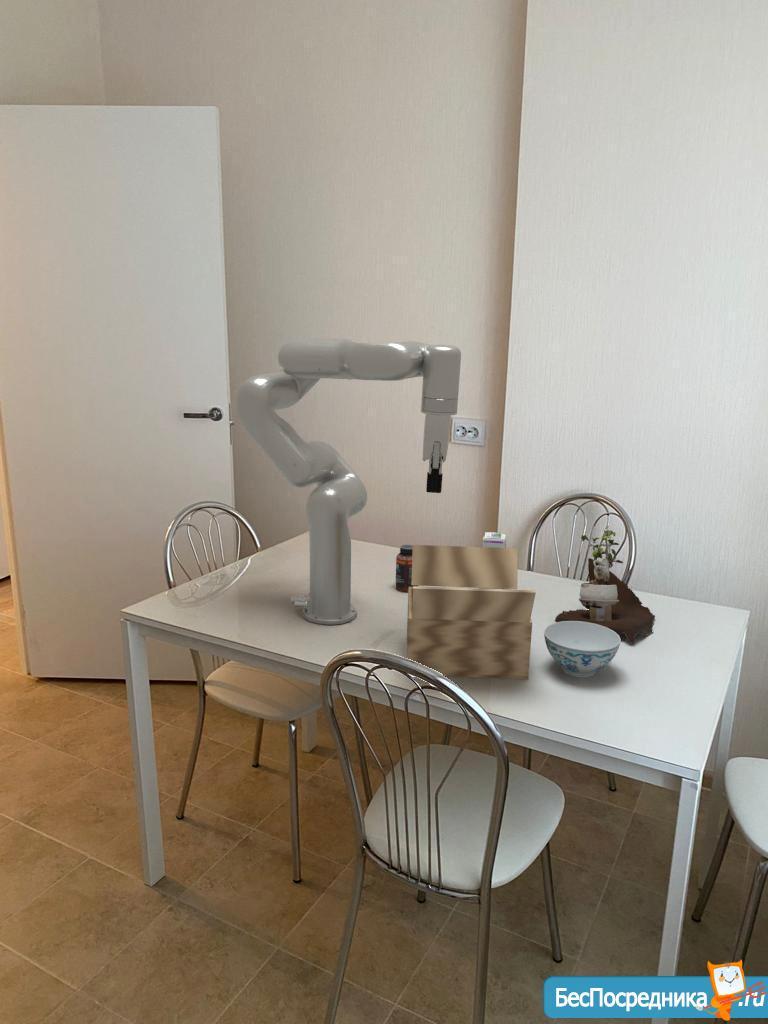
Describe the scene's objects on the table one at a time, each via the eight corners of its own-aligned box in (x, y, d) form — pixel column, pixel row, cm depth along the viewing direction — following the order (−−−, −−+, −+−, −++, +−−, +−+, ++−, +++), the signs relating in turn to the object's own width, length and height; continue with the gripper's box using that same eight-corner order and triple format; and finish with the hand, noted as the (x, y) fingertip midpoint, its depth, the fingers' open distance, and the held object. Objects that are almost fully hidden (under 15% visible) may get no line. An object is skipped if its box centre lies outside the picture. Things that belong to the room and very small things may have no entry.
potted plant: (552, 636, 191) (554, 528, 192) (584, 632, 206) (586, 532, 207) (637, 644, 179) (639, 529, 181) (664, 638, 195) (666, 532, 196)
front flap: (411, 616, 161) (411, 618, 160) (413, 586, 155) (413, 588, 154) (529, 620, 160) (529, 622, 160) (535, 590, 154) (535, 592, 154)
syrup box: (502, 593, 210) (506, 539, 207) (479, 591, 212) (482, 537, 208) (504, 586, 216) (507, 533, 212) (481, 584, 217) (484, 531, 213)
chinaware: (570, 692, 158) (573, 655, 156) (527, 661, 172) (529, 626, 170) (632, 680, 164) (636, 644, 162) (586, 650, 178) (589, 617, 176)
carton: (406, 674, 164) (408, 618, 161) (406, 638, 181) (408, 586, 178) (527, 679, 163) (532, 622, 160) (516, 642, 181) (520, 590, 178)
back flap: (412, 544, 180) (412, 545, 180) (411, 585, 178) (411, 585, 179) (517, 548, 180) (517, 548, 180) (517, 588, 178) (517, 589, 178)
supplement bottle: (422, 587, 213) (424, 545, 210) (411, 594, 208) (412, 551, 205) (402, 583, 216) (404, 541, 213) (390, 589, 211) (392, 547, 208)
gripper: (422, 400, 179) (417, 482, 183) (420, 409, 164) (415, 499, 169) (456, 402, 178) (450, 485, 183) (458, 412, 164) (451, 501, 169)
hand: (433, 491), depth 176 cm, fingers closed
